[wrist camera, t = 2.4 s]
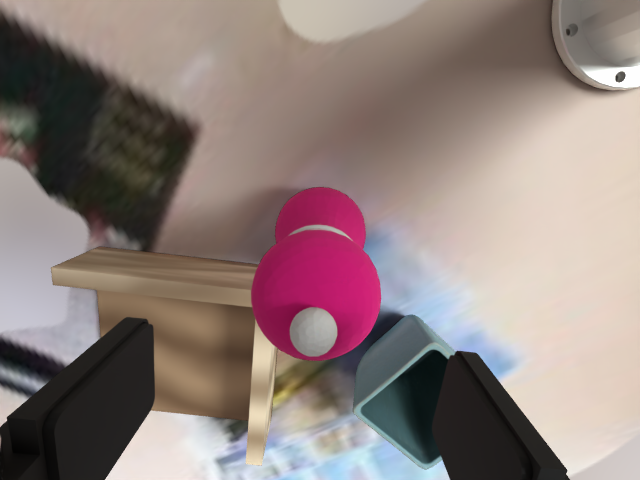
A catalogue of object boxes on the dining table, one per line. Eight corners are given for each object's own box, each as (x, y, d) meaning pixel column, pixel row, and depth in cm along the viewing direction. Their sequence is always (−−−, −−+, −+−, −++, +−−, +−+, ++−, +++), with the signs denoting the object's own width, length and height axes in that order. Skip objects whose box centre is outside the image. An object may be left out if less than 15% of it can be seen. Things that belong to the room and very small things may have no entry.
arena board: (99, 246, 32) (93, 249, 31) (284, 267, 32) (283, 270, 31) (110, 400, 37) (105, 405, 36) (271, 417, 37) (270, 423, 36)
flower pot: (343, 345, 34) (349, 413, 26) (405, 289, 32) (434, 340, 24) (402, 394, 36) (426, 473, 27) (464, 342, 34) (512, 409, 25)
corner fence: (93, 249, 31) (50, 267, 26) (283, 270, 31) (275, 292, 26) (105, 405, 36) (71, 445, 31) (270, 423, 36) (261, 465, 31)
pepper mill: (341, 168, 29) (369, 208, 10) (371, 239, 31) (446, 390, 12) (269, 201, 30) (169, 296, 11) (302, 269, 32) (267, 452, 13)
